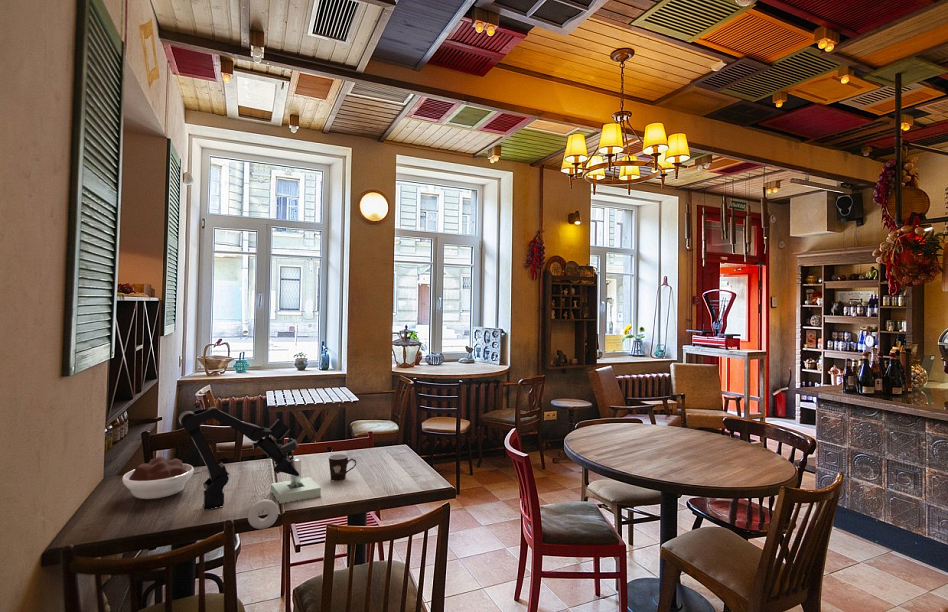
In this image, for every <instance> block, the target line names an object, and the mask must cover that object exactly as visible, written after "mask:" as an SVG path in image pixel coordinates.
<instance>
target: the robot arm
mask: <svg viewBox="0 0 948 612" xmlns="http://www.w3.org/2000/svg"><path fill="white" fill-rule="evenodd" d="M212 419H213V420H215V421H218V422H219V423H222V424H223V425H226V426H228V427H230V428H232V429H234V430H236V431H238V432H240V433H241V434H242V435H244V436H245V437H246V438H247V439H249V440H250V441H251V442H252V449H253V450H255V451H256V449H257V448H259V449H260V450H261V451H262V452H263V453H264V454H265V455H267V456H266V457H267V459H271V460H272V461H273V462H274V465H275V466H274V468H273V469H274V472H275V473H276V474H277V475H278V474H280V473H283V474H284V473H285V474H287V475H290V476H291V475H294V476H299V473H298V471H297V470H296V469H295V468H294V466H293V465H292V459H295V454H294V452H295V451H296V450H297V449H298V448H299V445H298V441H297V439H296V438H295V439H293V438H292V437H291V438H289V439H287V442H286V443H285V444H283V445H282V444H281V443H279V444H278V443H277V442H276V441H277V440H282V439H283V438H284V437H285V436H286V434H287V433H288V432H289V431H290V430H291V428H290V427H289V426H288V425H286V424H285V423H284V422H282V421H281V420H280V419H276V420H275V421H274V422H273V424H272V425H271V426H270V427H269V428H267V427H260V426H258V425H257V424H254V423H250V422H245V421H242V420H240V419H238V418H237V417H234V416H232V415H230V414H228V413H227V412H224V411H221V409H218V408H217V407H216V406H211V407H207V408H202V409H197V410H194V411H190V410H185V411H183V412H182V413H181V414H180V415H179V417H178V421H179V424H180V425H181V426H182V428H184V430H185V431H186V432H187V433H188V435H189V436H190V437H191V440H192V441H193V443H194V445H195V447H196V448H197V451H198V453H199V454H200V456H201V459H202V460H203V462H204V464H205V466H206V470H207V474H208V478H207V479H206V480H205V481H204V482H203V488H204V490H203V504H202V508H203V507H204V508H203V510H204V511H207V510H206V509H209V510H212V509H211V508H215V507H220V506H223V507H224V504H225V492H224V491H223V490H224V488H225V486H226V485H227V484H228V482H229V480H230V479H229V476H230V473H229V472H228V471H227V469H226V465H225V464H224V463H223V462H220V463H218V461H217V459H216V458H215V456H214V454H213V452H212V451H211V448H210V447H209V444H208V443H207V442H208V441H206V439H205V437H204V434H203V432H202V429H201V424H202V423H204V422H207V421H210V420H212ZM220 508H221V507H220ZM215 509H216V508H215Z"/></svg>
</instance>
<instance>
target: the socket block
mask: <svg viewBox="0 0 948 612" xmlns="http://www.w3.org/2000/svg"><path fill="white" fill-rule="evenodd" d="M290 482H291V479H290V480H285V481H280V482H275V483H271V485H270V492H272V493H273V494H274V495H273V494H272V493H271V494H272V495H273V497H274V496H275V497H276V498H277V499H276V498H275V497H274V498H275V499H276V500H277V502H278V501H279V502H278V504H280V505H281V503H282V504H286V503H285V502H287V503H290V502H289V501H293V502H296V501H295V500H298V501H302V500H301V499H303V500H308V499H307V498H309V499H313V498H317V497H321V496H322V495H321V494H322V493H321V489H322V488H321V486H320V485H319V484H317V483H316V482H315V481H314V480H313V479H312V478H311V477H303V478H302V477H301V487H299V488H293V489H290Z"/></svg>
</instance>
